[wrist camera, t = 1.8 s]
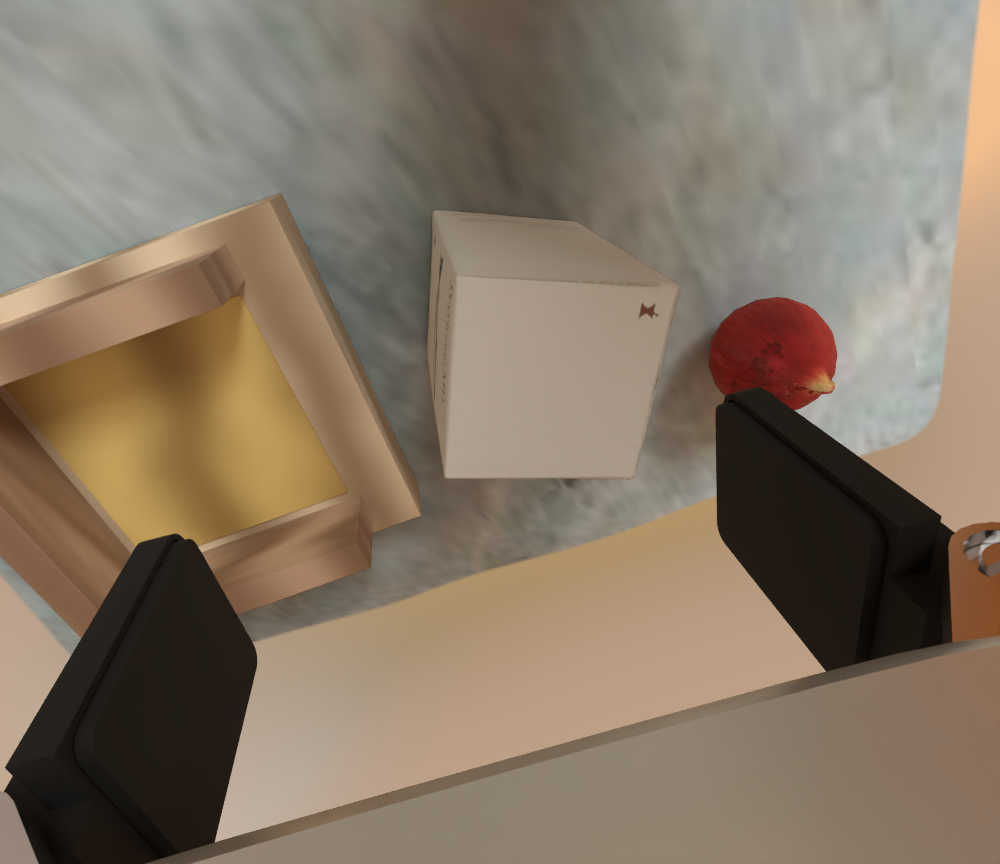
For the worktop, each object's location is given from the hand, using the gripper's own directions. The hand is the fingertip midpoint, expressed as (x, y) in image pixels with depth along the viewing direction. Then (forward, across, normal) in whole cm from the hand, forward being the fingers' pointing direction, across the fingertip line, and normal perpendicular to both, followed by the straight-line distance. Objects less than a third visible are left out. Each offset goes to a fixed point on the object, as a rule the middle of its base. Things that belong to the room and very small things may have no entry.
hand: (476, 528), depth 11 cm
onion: (+22, -16, +8) cm, 28 cm away
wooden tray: (+22, +12, +5) cm, 25 cm away
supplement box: (+22, -4, +2) cm, 22 cm away
